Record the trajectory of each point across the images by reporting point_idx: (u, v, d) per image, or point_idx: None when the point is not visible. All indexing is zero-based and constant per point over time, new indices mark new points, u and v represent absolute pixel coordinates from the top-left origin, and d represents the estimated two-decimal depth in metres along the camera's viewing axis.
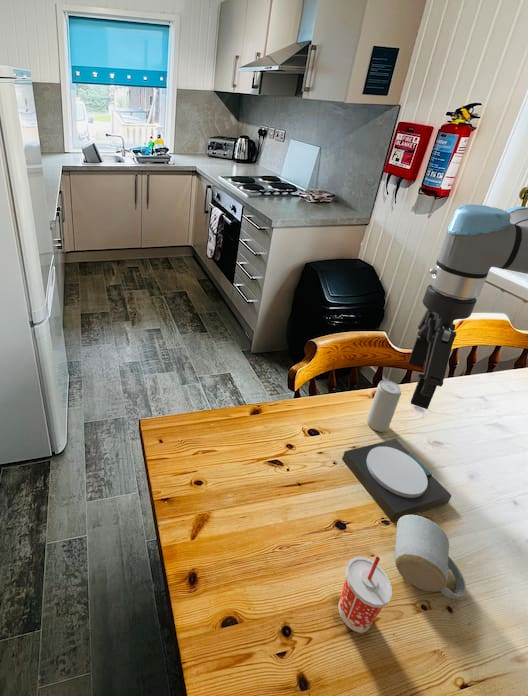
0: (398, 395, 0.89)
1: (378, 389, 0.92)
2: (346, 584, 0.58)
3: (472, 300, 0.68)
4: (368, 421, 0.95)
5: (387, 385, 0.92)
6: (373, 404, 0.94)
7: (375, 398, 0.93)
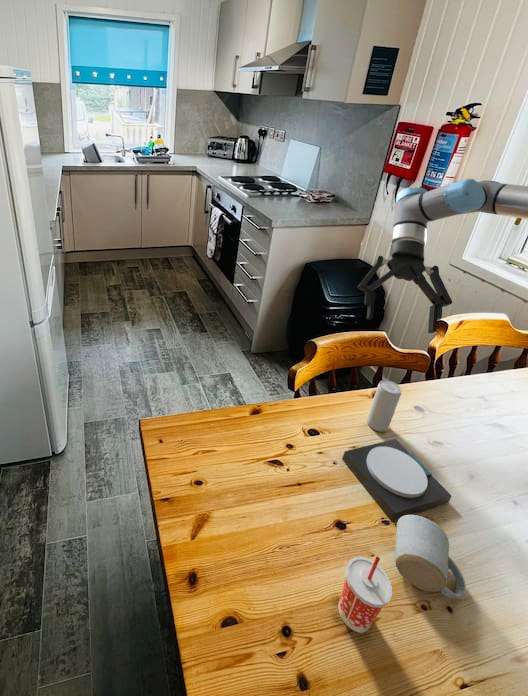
0: (398, 395, 0.89)
1: (378, 389, 0.92)
2: (346, 584, 0.58)
3: (404, 240, 0.99)
4: (368, 421, 0.95)
5: (387, 385, 0.92)
6: (373, 404, 0.94)
7: (375, 398, 0.93)
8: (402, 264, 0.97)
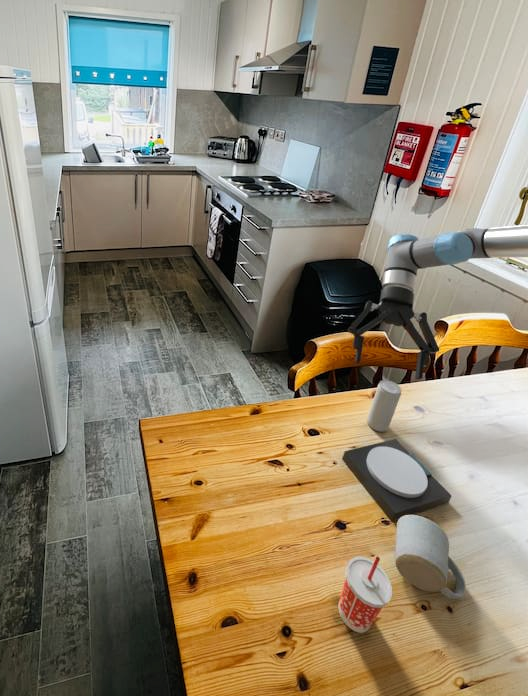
0: (398, 395, 0.89)
1: (378, 389, 0.92)
2: (346, 584, 0.58)
3: (393, 286, 1.02)
4: (368, 421, 0.95)
5: (387, 385, 0.92)
6: (373, 404, 0.94)
7: (375, 398, 0.93)
8: (390, 310, 1.00)
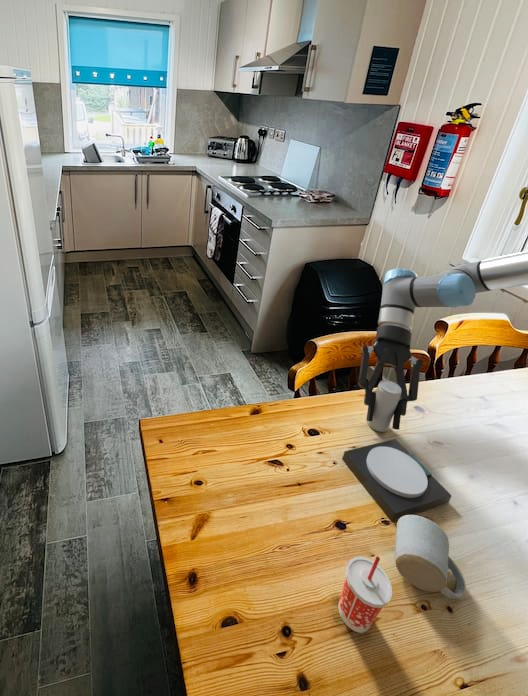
0: (398, 395, 0.89)
1: (378, 389, 0.92)
2: (346, 584, 0.58)
3: (389, 325, 0.97)
4: (368, 421, 0.95)
5: (387, 385, 0.92)
6: None
7: (375, 398, 0.93)
8: (387, 351, 0.95)
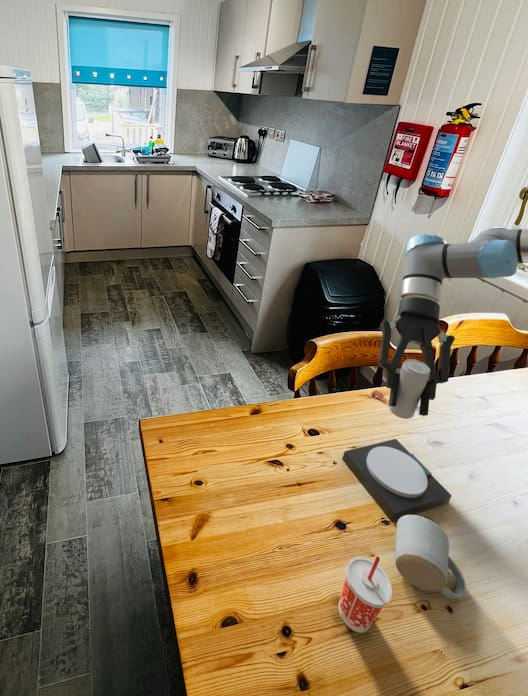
0: (427, 376, 0.77)
1: (403, 369, 0.79)
2: (346, 584, 0.58)
3: (414, 297, 0.84)
4: (390, 407, 0.83)
5: (413, 364, 0.79)
6: None
7: (399, 380, 0.80)
8: (412, 326, 0.83)
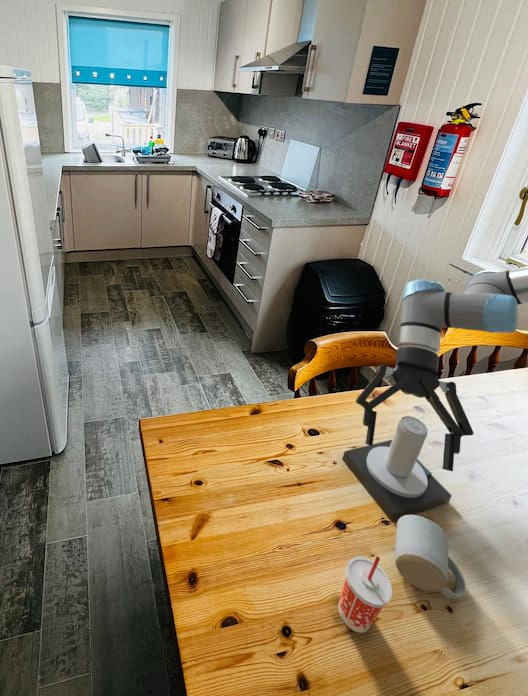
0: (424, 436, 0.75)
1: (399, 428, 0.77)
2: (346, 584, 0.58)
3: (412, 347, 0.81)
4: (386, 464, 0.80)
5: (410, 423, 0.77)
6: (393, 445, 0.79)
7: (395, 438, 0.78)
8: (410, 378, 0.80)
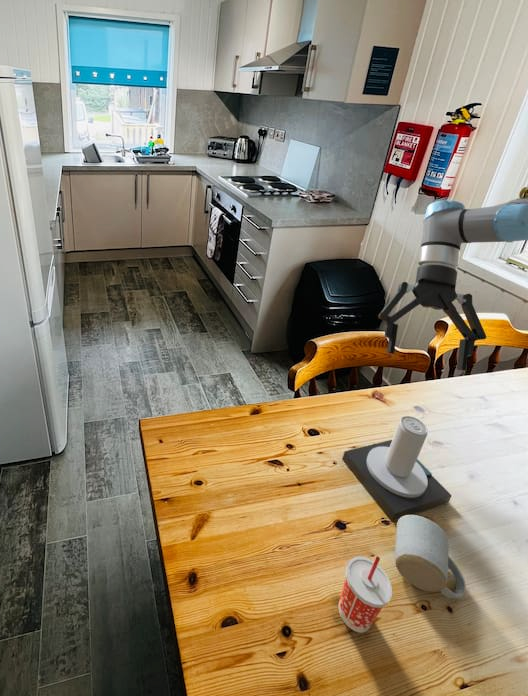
0: (424, 436, 0.75)
1: (399, 428, 0.77)
2: (346, 584, 0.58)
3: (433, 265, 0.87)
4: (386, 464, 0.80)
5: (410, 423, 0.77)
6: (393, 445, 0.79)
7: (395, 438, 0.78)
8: (429, 292, 0.87)
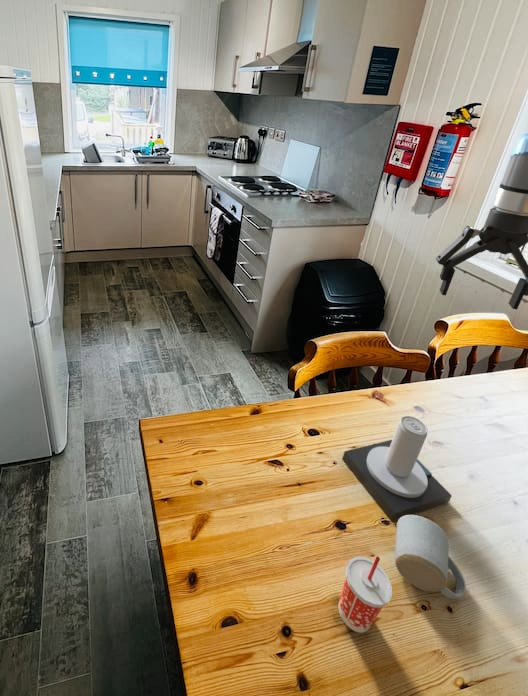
0: (424, 436, 0.75)
1: (399, 428, 0.77)
2: (346, 584, 0.58)
3: (507, 214, 0.80)
4: (386, 464, 0.80)
5: (410, 423, 0.77)
6: (393, 445, 0.79)
7: (395, 438, 0.78)
8: (497, 241, 0.84)
